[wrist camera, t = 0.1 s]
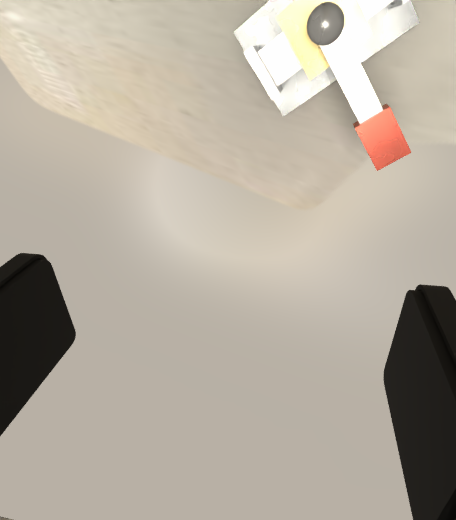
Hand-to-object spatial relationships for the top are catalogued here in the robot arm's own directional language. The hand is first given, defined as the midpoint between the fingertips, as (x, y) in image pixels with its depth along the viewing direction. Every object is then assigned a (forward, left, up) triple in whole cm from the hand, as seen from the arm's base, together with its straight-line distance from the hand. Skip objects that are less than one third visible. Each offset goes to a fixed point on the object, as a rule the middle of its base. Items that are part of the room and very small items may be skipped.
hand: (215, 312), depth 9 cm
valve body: (-4, +6, -37) cm, 38 cm away
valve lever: (+1, +6, -28) cm, 29 cm away
